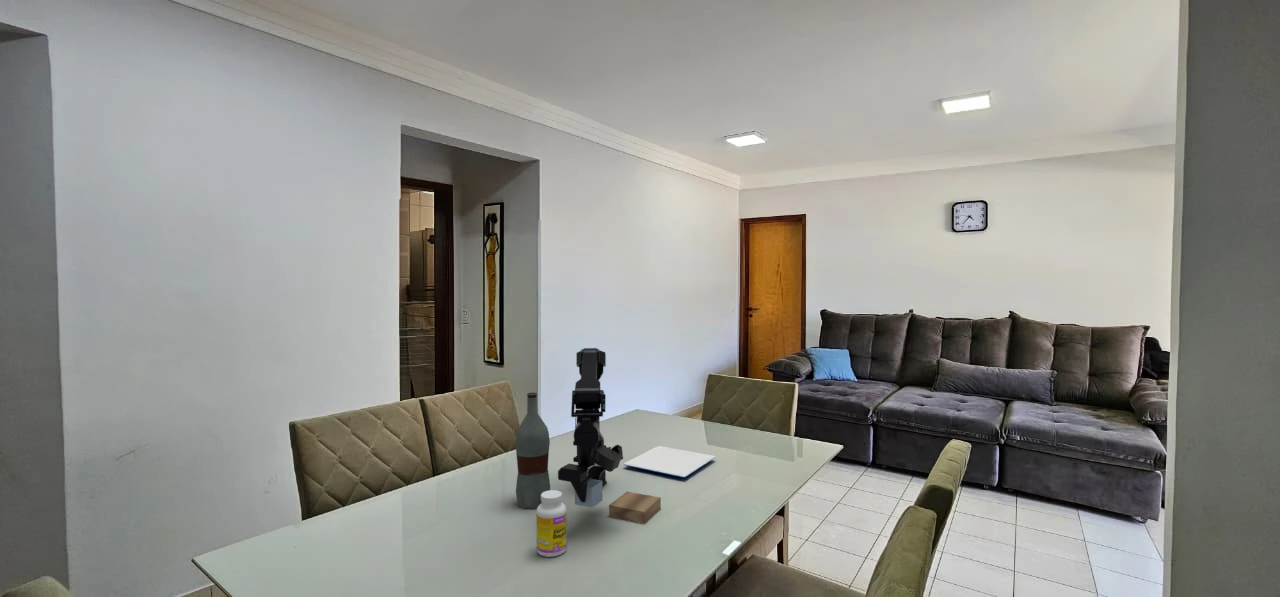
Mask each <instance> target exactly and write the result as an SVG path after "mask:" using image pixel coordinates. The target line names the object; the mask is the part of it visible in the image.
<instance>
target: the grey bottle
mask: <svg viewBox="0 0 1280 597" xmlns="http://www.w3.org/2000/svg"><path fill="white" fill-rule="evenodd" d="M537 395H538V393H537V392H535V391H534V392H527V393H526V396H527V397H526V398H527V406H526V409H527V412H526V415H525V416H524V418H523V420H522V422H521V423H520V424H519V427H518V428H517V431H516V435H515V442H514V443H515V452H516V453H515V454H516V464H517V476H516V477H517V478H516V484H515V495H516V496H515V497H516V501H517V504H518V506H519V507H520V506H521V507H520V508H522V507H523V508H522V509H526V508H535V509H537V508H538V506H539V505H540V504H542V502H541V494H542V493H543V492H545V491H549V490H551V481H550V474H549V467H548V466H549V454H550V444H551V443H550V434H549V429H548V426H547V425H546V424H545V422H544V421H543V419H542V417H541V416H540V414H539V413H538V396H537Z"/></svg>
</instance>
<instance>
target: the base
mask: <svg viewBox="0 0 1280 597" xmlns="http://www.w3.org/2000/svg"><path fill="white" fill-rule="evenodd" d="M661 501H662V499H661V497H660V496H654V495H648V494H642V493H638V492H633V491H626V492H625V493H622V495H620V496H619V497H617V499H615V500H614V501H612V502H611V503H610V504H609V505H608V512H609V513H608V517H609V516H611V517H610V518H613V517H615V519H618V518H620V520H623V519H625V520H624V521H628V520H630V521H629V522H633V521H635V522H634V523H638V522H640V523H639V524H642V523H644V524H643V525H645V524H646V523H648V521H649V520H650V519H652V518H653V515H654V514H655V513H656V514H657V513H658V512H660V510H661V509H662V508H661V507H662V504H661V503H662V502H661ZM654 516H655V515H654Z"/></svg>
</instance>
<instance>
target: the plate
mask: <svg viewBox="0 0 1280 597" xmlns="http://www.w3.org/2000/svg"><path fill="white" fill-rule="evenodd" d="M715 458H716V456H715V455H712V454H706V453H700V452H695V451H690V450H684V449H678V448H673V447H669V446H668V447H667V446H661V445H657V446H655V447H654V448H651V449H649V450H648V451H645V452H643V453H642V454H640V455H637V456H636V457H633V458H632V459H630V460H627V461H626V462H624V463H623V466H624V467H625V466H626V467H630V468H631V467H632V468H635V469H641V470H645V471H650V472H655V473H659V474H663V475H670V476H674V477H679V478H686V477H688V476H689V475H691V474H692V473H694V472H696V471H698V470H699V469H701V468H702V467H703V466H705V465H706V464H708V463H709V462H711V461H712V460H714V459H715Z"/></svg>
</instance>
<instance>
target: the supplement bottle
mask: <svg viewBox="0 0 1280 597" xmlns="http://www.w3.org/2000/svg"><path fill="white" fill-rule="evenodd" d="M562 500H563V492H561V491H559V490H555V489H550V490H549V491H545V492H543V493H542V494H541V502H542V504H540V505H539V506H538V508H536V511H535V512H536V513H535V514H536V551H537V552H536V553H537V554H539V555H540V556H542V557H546V558H553V557H554V558H555V557H558V556H560V555H562V554H564V553H565V551H567V544H568V543H567V542H568V541H567V535H568V534H567V531H568V530H567V528H568V527H567V507H566V504H564V503H563V502H562Z"/></svg>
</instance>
